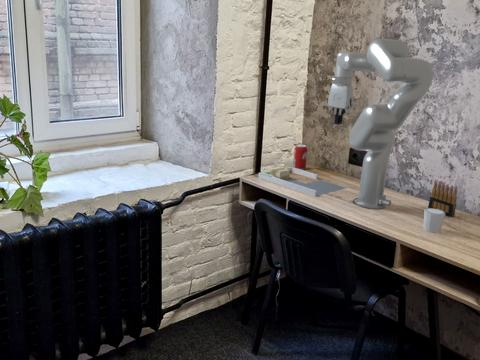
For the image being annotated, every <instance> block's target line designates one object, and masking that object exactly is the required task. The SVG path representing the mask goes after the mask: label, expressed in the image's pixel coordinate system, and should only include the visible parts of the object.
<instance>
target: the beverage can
mask: <svg viewBox="0 0 480 360" xmlns="http://www.w3.org/2000/svg"><path fill="white" fill-rule="evenodd" d="M293 151H294V152H293V161H292V162H293V163H292V167H293V168H297V169H300V170H304V171H305V169H306V168H307V157H308V147H307V145H305V144H296V145H295V147H294V150H293Z"/></svg>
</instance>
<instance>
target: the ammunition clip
mask: <svg viewBox="0 0 480 360" xmlns="http://www.w3.org/2000/svg"><path fill="white" fill-rule="evenodd" d="M445 184H446V183H445V182H443V183H442V182H441V181H439V182H438V181H437V180H435V181H434V183H433V186H432V190H431V193H430V194H431V195H430V197H429V201H428V206H427V208H435V209H439V210H442V211H444V212H445V216H447V217H449V218H454V217H455V214H456V208H457V207H456V206H457V203H456V202H457V197H458V196H457V195H458V186H455V187H454V186H453V184H452V185H449V183H447V184H446V185H445Z"/></svg>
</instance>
